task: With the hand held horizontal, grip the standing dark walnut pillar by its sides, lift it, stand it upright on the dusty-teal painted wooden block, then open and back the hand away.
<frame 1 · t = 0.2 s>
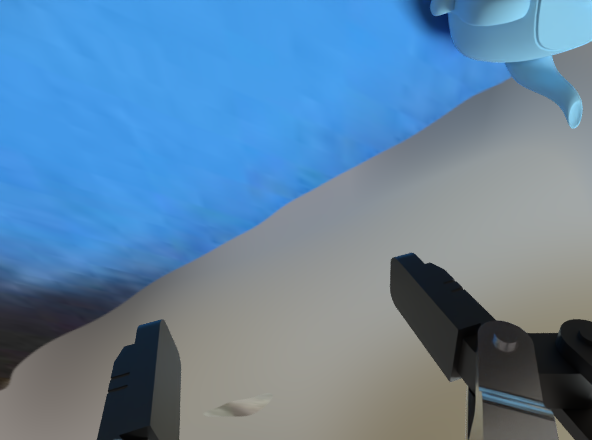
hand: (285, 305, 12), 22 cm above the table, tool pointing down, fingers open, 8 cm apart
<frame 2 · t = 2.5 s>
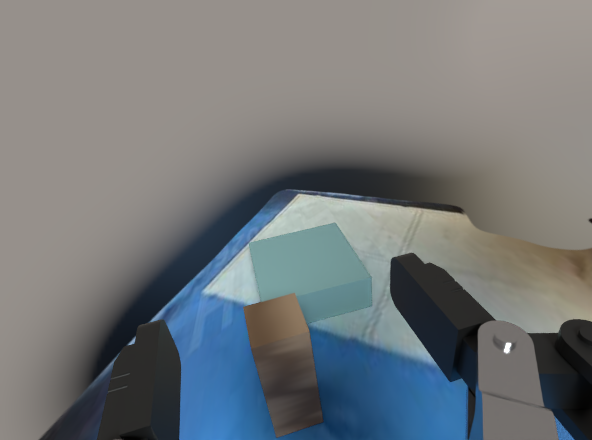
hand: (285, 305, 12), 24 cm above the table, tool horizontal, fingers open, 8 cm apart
walnut pillar: (294, 407, 34), on the table
teal block: (307, 287, 49), on the table
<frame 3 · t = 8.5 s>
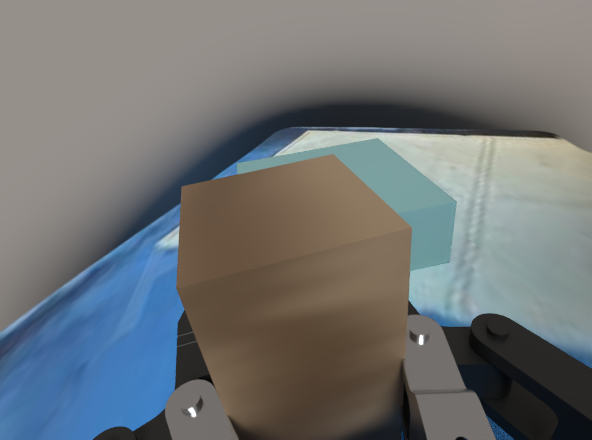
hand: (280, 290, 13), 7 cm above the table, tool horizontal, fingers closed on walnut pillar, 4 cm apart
teal block: (330, 234, 29), on the table
when the fingers open (13 cm above the table, at t = 15.9 s): walnut pillar drops 2 cm, resting on teal block.
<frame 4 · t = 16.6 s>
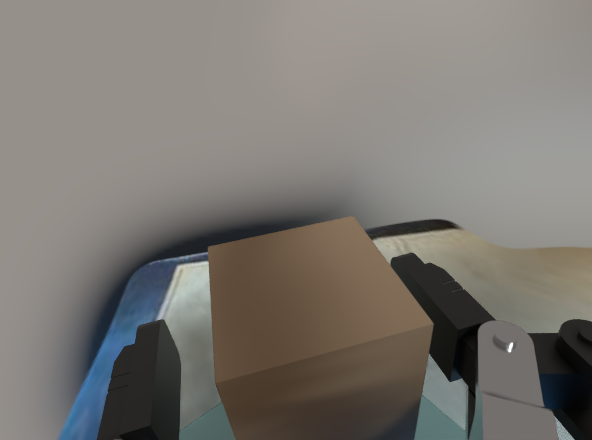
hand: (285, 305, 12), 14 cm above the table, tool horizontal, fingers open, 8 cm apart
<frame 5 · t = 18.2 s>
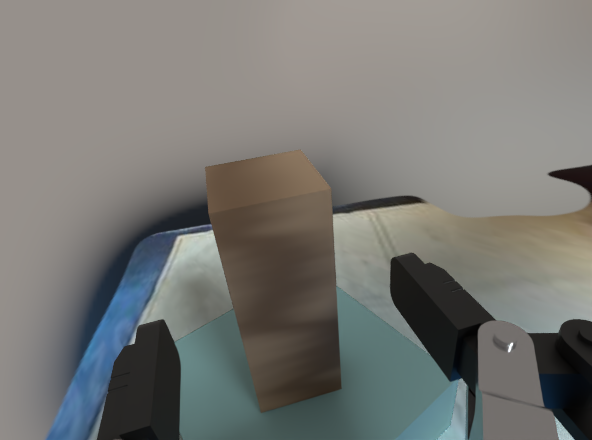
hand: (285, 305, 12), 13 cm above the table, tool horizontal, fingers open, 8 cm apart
walnut pillar: (292, 366, 21), point 5 cm above the table, touching teal block
teal block: (299, 415, 23), on the table, touching walnut pillar
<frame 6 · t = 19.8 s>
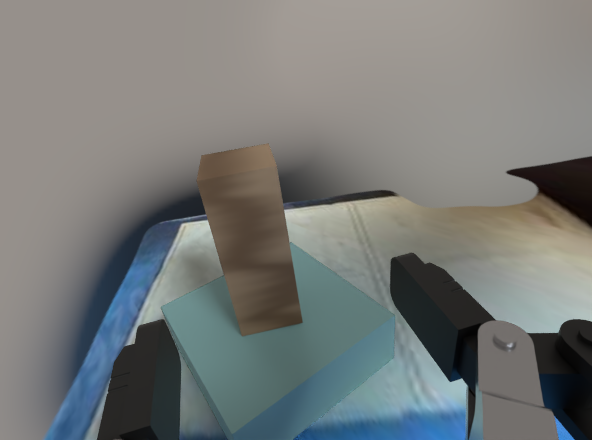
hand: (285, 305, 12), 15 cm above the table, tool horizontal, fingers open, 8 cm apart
walnut pillar: (269, 308, 27), point 5 cm above the table, touching teal block
teal block: (279, 354, 30), on the table, touching walnut pillar
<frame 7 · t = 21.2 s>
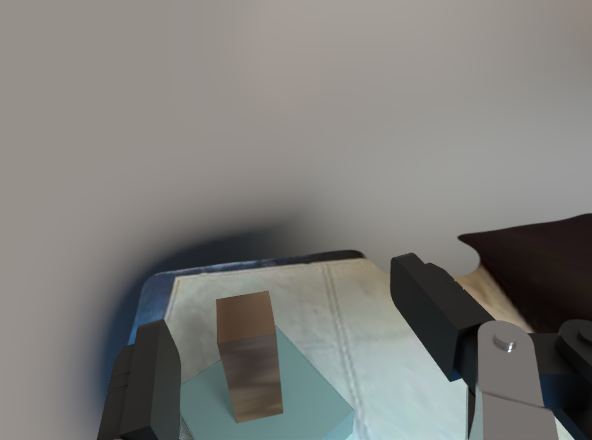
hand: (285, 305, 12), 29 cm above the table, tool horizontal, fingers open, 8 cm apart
walnut pillar: (257, 395, 35), point 5 cm above the table
teal block: (264, 425, 38), on the table
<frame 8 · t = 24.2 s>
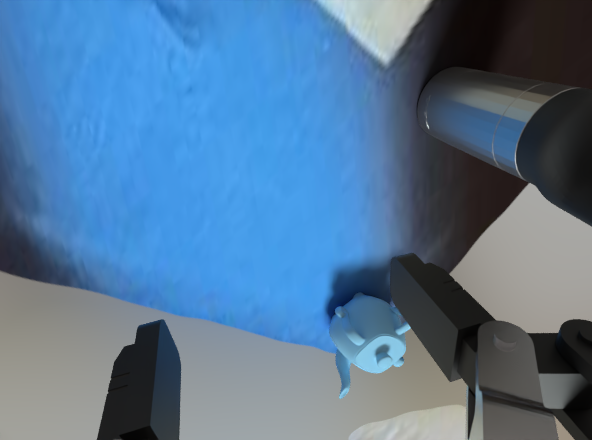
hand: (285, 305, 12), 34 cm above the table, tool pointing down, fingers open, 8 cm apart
teapot: (353, 315, 64), on the table
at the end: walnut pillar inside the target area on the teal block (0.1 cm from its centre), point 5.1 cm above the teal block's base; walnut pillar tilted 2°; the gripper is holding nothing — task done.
